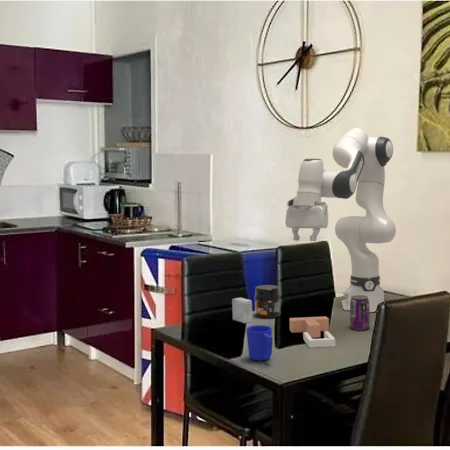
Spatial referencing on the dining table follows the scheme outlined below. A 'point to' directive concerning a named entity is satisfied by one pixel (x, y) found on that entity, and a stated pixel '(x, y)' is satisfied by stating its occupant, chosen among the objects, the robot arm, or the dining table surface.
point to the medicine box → (242, 310)
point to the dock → (319, 340)
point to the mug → (259, 342)
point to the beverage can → (359, 312)
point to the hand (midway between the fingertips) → (304, 240)
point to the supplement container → (267, 301)
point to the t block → (309, 325)
